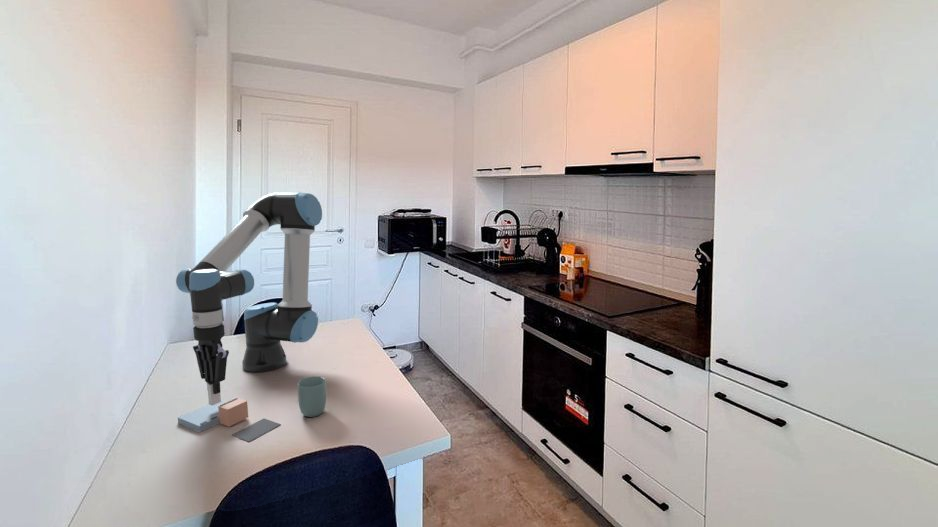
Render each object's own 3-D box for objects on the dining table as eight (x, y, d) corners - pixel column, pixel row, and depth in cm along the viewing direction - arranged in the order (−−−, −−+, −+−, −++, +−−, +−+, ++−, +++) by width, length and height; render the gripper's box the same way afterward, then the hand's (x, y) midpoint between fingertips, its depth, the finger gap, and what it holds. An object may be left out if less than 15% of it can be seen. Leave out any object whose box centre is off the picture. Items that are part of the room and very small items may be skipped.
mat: (231, 435, 120) (231, 434, 120) (263, 419, 129) (263, 418, 129) (249, 442, 117) (248, 441, 117) (280, 424, 125) (280, 424, 125)
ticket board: (178, 423, 126) (177, 416, 125) (218, 405, 136) (218, 399, 136) (200, 432, 121) (199, 425, 121) (240, 413, 132) (239, 406, 131)
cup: (303, 407, 135) (301, 376, 134) (329, 406, 136) (328, 375, 134) (295, 420, 128) (293, 387, 126) (323, 419, 128) (322, 386, 127)
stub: (219, 423, 125) (218, 405, 124) (239, 413, 130) (237, 397, 130) (228, 426, 123) (227, 408, 122) (248, 417, 129) (247, 400, 128)
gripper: (181, 324, 126) (188, 403, 129) (210, 331, 120) (216, 413, 124) (207, 318, 133) (213, 393, 136) (235, 324, 127) (241, 402, 130)
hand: (215, 403), depth 130 cm, fingers closed
